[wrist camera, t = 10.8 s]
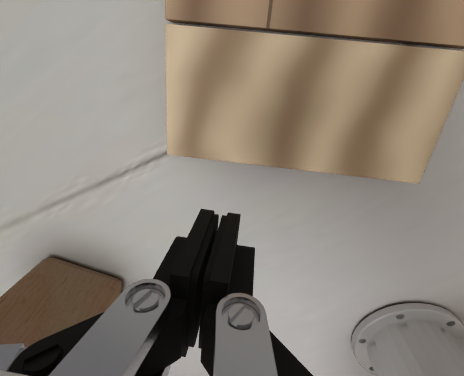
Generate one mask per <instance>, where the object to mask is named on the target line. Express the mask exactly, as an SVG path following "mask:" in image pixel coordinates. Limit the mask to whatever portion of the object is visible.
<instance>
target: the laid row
mask: <svg viewBox="0 0 464 376" xmlns="http://www.w3.org/2000/svg"><path fill="white" fill-rule="evenodd" d="M165 19H166V20H168V21H170V22H173V23H184V24H195V25H206V26H217V27H228V28H239V29H249V30H260V31H271V32H282V33H293V34H304V35H315V36H326V37H337V38H348V39H359V40H370V41H381V42H392V43H403V44H414V45H425V46H436V47H447V48H458V49H464V0H165Z"/></svg>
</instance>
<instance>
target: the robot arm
mask: <svg viewBox="0 0 464 376" xmlns="http://www.w3.org/2000/svg"><path fill="white" fill-rule="evenodd" d="M218 219H219V215H217V214H214V211H212V210H205V209H201V210H200V212H199V214H198V216H197V218H196V221H195V223H194V225H193V227H192V229H191V231H190V233H189V235H188V237H187V238H185V237H176V238H175V240H174V242H173V243H172V245H171V247H170V249H169V251H168V252H167V254H166V256H165V258H164V260H163V261H162V263H161V265H160V267H159V269H158V270H157V272H156V274H155V276H154V278H153V279H144V280H140V281H137V282H135V283H133V284H131V285H129V286H128V287H127V288H126V289H125V290H124V291H123V292H122V293H121V294H120V295H119V296H118V298H117V299H116V300H115V301H114V302H113V303H112V304H111V305H110V307H109V308H108V309H107V310H106V311H105V312H103V313H100V314H98V315H96V316H93V317H91V318H89V319H87V320H84V321H82V322H80V323H77V324H75V325H73V326H71V327H68V328H66V329H64V330H61V331H59V332H57V333H55V334H52V335H50V336H48V337H45V338H43V339H41V340H39V341H37V342H35V343H34V344H32V345H30V346H29V347H25V346H24V344H23V343H19V344H1V345H0V376H167V375H168V373H169V370H170V365H171V364H172V363H174V362H175V361H177V360H178V359H180V358H181V356H183V357H186V354H187V350H188V346H190V347H194V345H195V342H196V338H197V334H198V330H199V326H200V332H199V348H201V363H202V364H203V366H204V368H205V369H206V371H207V372H208V374H209V375H210V376H313V375H312V374H311V373H310V372H309V371H308V370H307V369H306V368H305V367H304V366H303V365H302V364H301V363H300V362H299V361H298V360H297V358H296V357H295V356H294V355H293V354H292V353H291V352H290V351H289V350H288V349H287V348H286V347H285V346H284V345H283V344H282V343H281V342H280V341H279V340H278V339H277V338H276V337H275V336H274V335H273V333H272V332H271V331H270V330H269V327H268V321H267V316H266V312H265V309H264V307H263V305H262V304H261V303H260V301H258V300H257V299H256V298H254V297H253V277H254V256H255V248H253V247H246V246H240V245H237V239H238V231H239V223H240V214H234V213H228V214H227V216H224V215H222V218H221V221H220V225H219V228H218ZM217 230H218V231H217ZM351 344H352V349H353V352H354V355H355V358H356V359H357V361H358V363H359V364H360V365H361V366H362V367H363V368H365V369H366V370H368V371H369V372H371V373H374V374H376V376H464V325H463V324H462V323H461V322H460V321H459V319H458V318H457V317H456V316H455V315H453V314H452V313H451V312H449V311H447V310H445V309H443V308H441V307H438V306H434V305H430V304H423V303H405V304H397V305H393V306H389V307H386V308H383V309H381V310H378V311H376V312H374V313H373V314H371V315H369V316H368V317H367V318H365V319H364V320H363V321H362V322H361V323H360V324H359V325H358V326H357V327H356V329H355V331H354V333H353V335H352V340H351Z"/></svg>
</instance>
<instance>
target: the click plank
mask: <svg viewBox="0 0 464 376" xmlns="http://www.w3.org/2000/svg"><path fill="white" fill-rule="evenodd" d="M165 27H166V104H167V155H176V156H184V157H193V158H202V159H210V160H219V161H228V162H236V163H245V164H254V165H262V166H271V167H280V168H289V169H297V170H306V171H315V172H323V173H332V174H341V175H349V176H358V177H367V178H375V179H384V180H393V181H401V182H410V183H420V180H421V178H422V176H423V173H424V171H425V169H426V166H427V164H428V162H429V159H430V157H431V154H432V152H433V150H434V147H435V145H436V143H437V140H438V138H439V136H440V133H441V131H442V128H443V126H444V124H445V121H446V119H447V117H448V114H449V112H450V110H451V107H452V105H453V102H454V100H455V98H456V95H457V93H458V91H459V88H460V86H461V84H462V81H463V79H464V51H458V50H447V49H436V48H425V47H415V46H404V45H393V44H382V43H371V42H360V41H349V40H338V39H327V38H316V37H305V36H294V35H283V34H272V33H261V32H251V31H240V30H229V29H218V28H207V27H196V26H185V25H174V24H165Z"/></svg>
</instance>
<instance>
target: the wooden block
mask: <svg viewBox="0 0 464 376" xmlns="http://www.w3.org/2000/svg"><path fill="white" fill-rule="evenodd" d="M121 289H122V283H121V281H120V280H119V279H117V278H114V277H111V276H108V275H105V274H102V273H99V272H96V271H93V270H90V269H87V268H84V267H81V266H78V265H75V264H72V263H69V262H65V261H62V260H59V259H56V258H46V259H44V260H42V261H41V262H40V263H39V264H38V265H37V266H36V267H34V268H33V269H32V270H31V271H30V272H29V273H28V274H26V275H25V276H24V277H23V278H22V279H21V280H19V281H18V282H17V283H16V284H15V285H14V286H13V287H11V288H10V289H9V290H8V291H7V292H6V293H5V294H3V295H2V296H1V297H0V345H1V344H19V343H23V344H24V346H25V347H29V346H30V345H32V344H34V343H35V342H37V341H39V340H41V339H43V338H45V337H48V336H50V335H52V334H55V333H57V332H59V331H61V330H64V329H66V328H68V327H71V326H73V325H75V324H77V323H80V322H82V321H84V320H87V319H89V318H91V317H93V316H96V315H98V314H100V313H103V312H105V311H106V310H107V309H108V308H109V307H110V305H111V304H112V303H113V302H114V301H115V300H116V299H117V298H118V296H119V295H120V294H121Z"/></svg>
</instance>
